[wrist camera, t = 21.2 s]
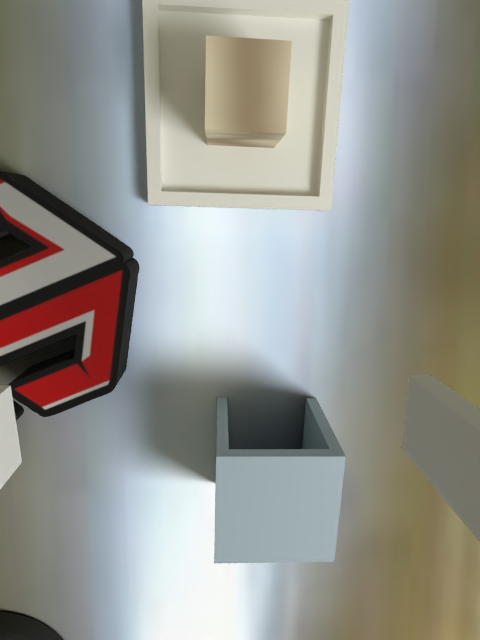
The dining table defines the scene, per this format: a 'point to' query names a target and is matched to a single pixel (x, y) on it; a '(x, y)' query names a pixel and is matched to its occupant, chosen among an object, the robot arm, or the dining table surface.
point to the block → (246, 91)
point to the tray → (189, 104)
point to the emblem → (62, 299)
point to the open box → (278, 495)
